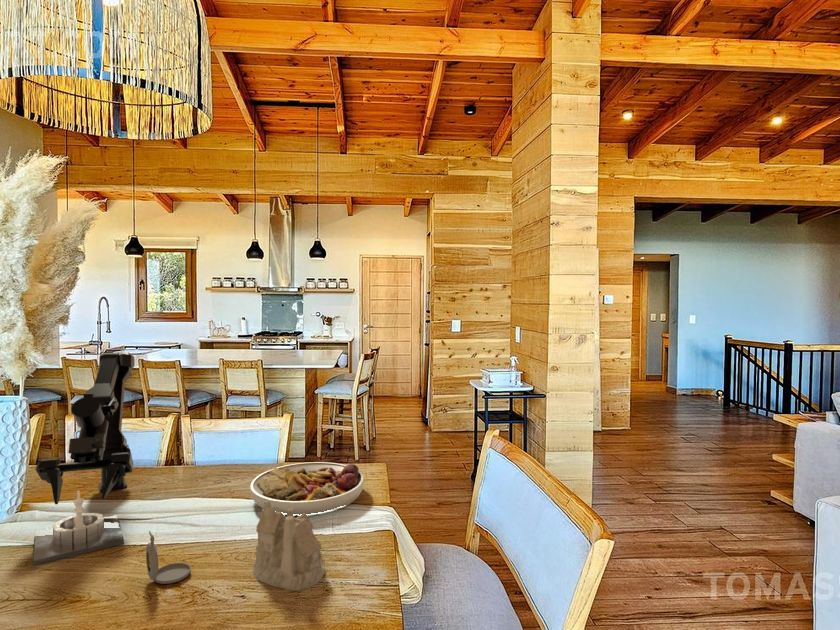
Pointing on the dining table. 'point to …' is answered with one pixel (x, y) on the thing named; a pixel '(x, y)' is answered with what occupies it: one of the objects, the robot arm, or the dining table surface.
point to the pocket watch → (164, 567)
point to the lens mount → (76, 538)
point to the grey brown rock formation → (287, 551)
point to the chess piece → (78, 511)
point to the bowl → (308, 487)
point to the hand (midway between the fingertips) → (79, 501)
